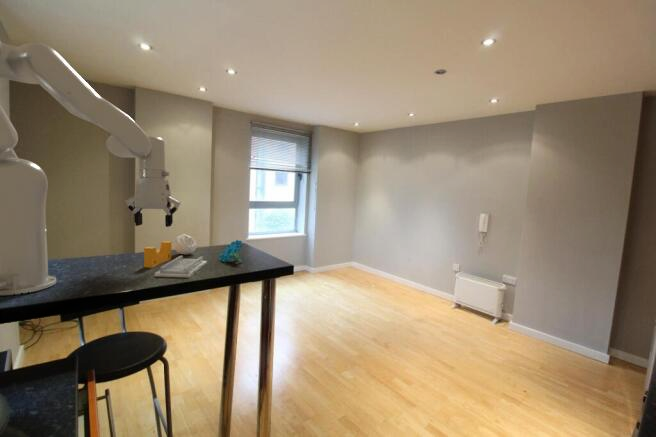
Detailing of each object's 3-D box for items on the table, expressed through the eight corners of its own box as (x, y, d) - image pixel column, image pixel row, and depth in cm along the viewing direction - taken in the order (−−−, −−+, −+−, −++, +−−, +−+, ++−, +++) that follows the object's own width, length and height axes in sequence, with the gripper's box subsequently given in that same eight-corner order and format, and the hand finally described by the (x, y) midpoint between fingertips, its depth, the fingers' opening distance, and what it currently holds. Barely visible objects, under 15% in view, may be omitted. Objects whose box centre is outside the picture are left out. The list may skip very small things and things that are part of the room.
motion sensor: (184, 257, 112) (184, 237, 111) (168, 255, 115) (168, 234, 114) (200, 253, 120) (200, 234, 119) (185, 251, 122) (185, 232, 121)
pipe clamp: (159, 258, 110) (159, 240, 109) (171, 259, 110) (171, 241, 109) (138, 267, 98) (138, 247, 97) (152, 268, 98) (152, 248, 97)
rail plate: (189, 277, 90) (189, 269, 90) (154, 276, 90) (154, 267, 89) (206, 263, 106) (207, 256, 106) (177, 262, 105) (177, 255, 105)
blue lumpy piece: (215, 253, 114) (236, 235, 116) (226, 263, 117) (246, 245, 120) (222, 265, 105) (243, 244, 107) (233, 275, 108) (254, 255, 110)
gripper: (183, 176, 105) (184, 224, 107) (131, 173, 104) (133, 223, 106) (174, 176, 98) (175, 228, 100) (118, 173, 96) (120, 226, 99)
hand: (153, 225), depth 103 cm, fingers open, 9 cm apart
